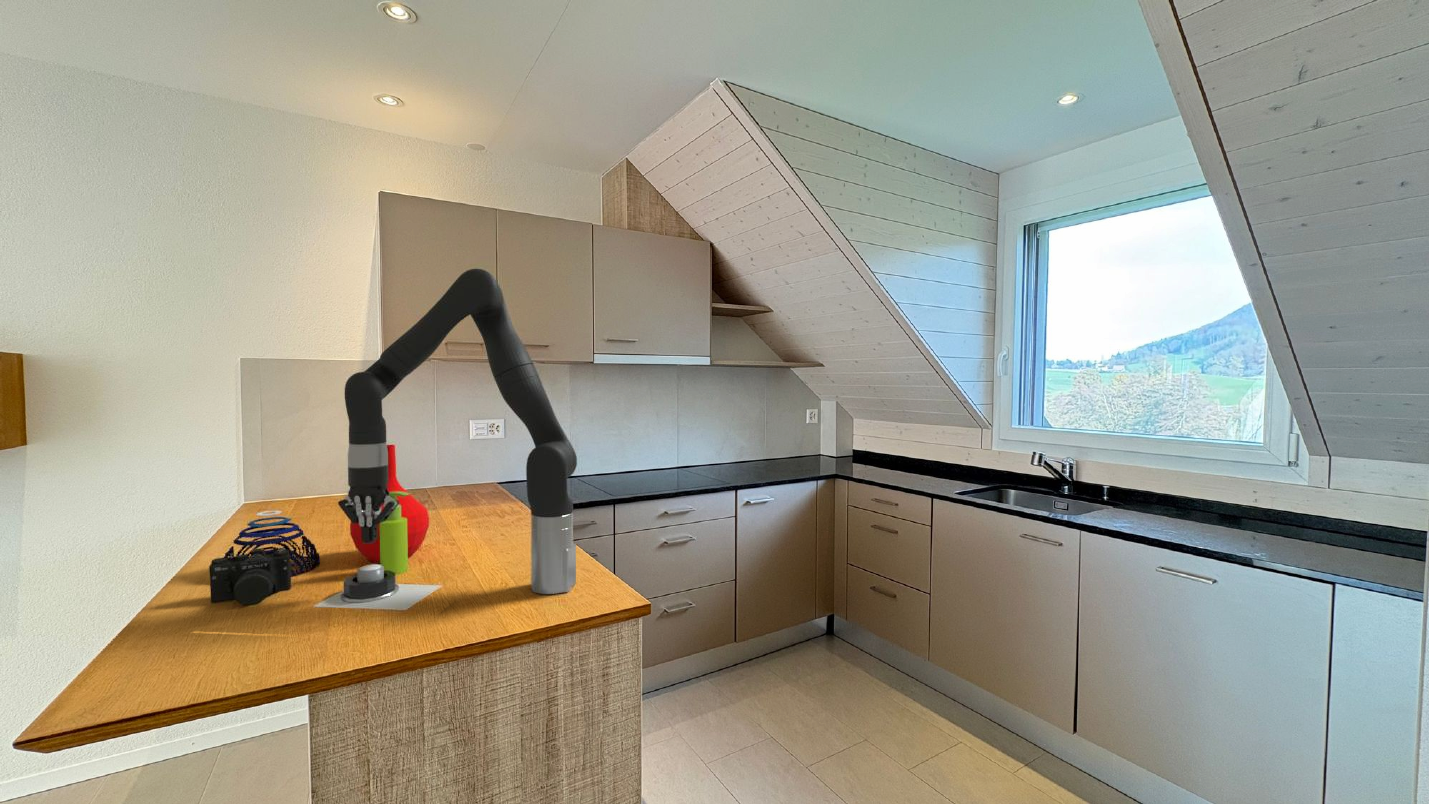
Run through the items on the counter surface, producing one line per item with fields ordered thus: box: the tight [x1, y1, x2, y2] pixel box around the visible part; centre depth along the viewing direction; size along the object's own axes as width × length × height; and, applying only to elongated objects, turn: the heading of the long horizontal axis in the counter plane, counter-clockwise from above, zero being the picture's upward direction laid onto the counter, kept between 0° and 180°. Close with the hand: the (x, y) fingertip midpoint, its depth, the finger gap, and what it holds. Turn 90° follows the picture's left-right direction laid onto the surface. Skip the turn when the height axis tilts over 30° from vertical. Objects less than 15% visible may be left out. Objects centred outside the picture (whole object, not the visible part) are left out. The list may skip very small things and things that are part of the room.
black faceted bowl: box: [341, 570, 399, 603], centre depth 128 cm, size 11×11×4 cm
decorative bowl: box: [223, 509, 321, 578], centre depth 144 cm, size 20×20×14 cm
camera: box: [208, 547, 292, 606], centre depth 125 cm, size 14×11×10 cm
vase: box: [349, 444, 430, 563], centre depth 155 cm, size 18×18×30 cm
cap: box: [356, 563, 384, 583], centre depth 128 cm, size 5×5×5 cm
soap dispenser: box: [379, 491, 411, 576], centre depth 142 cm, size 6×7×20 cm
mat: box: [312, 583, 443, 611], centre depth 127 cm, size 20×14×1 cm
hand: (369, 542), depth 128 cm, fingers closed
